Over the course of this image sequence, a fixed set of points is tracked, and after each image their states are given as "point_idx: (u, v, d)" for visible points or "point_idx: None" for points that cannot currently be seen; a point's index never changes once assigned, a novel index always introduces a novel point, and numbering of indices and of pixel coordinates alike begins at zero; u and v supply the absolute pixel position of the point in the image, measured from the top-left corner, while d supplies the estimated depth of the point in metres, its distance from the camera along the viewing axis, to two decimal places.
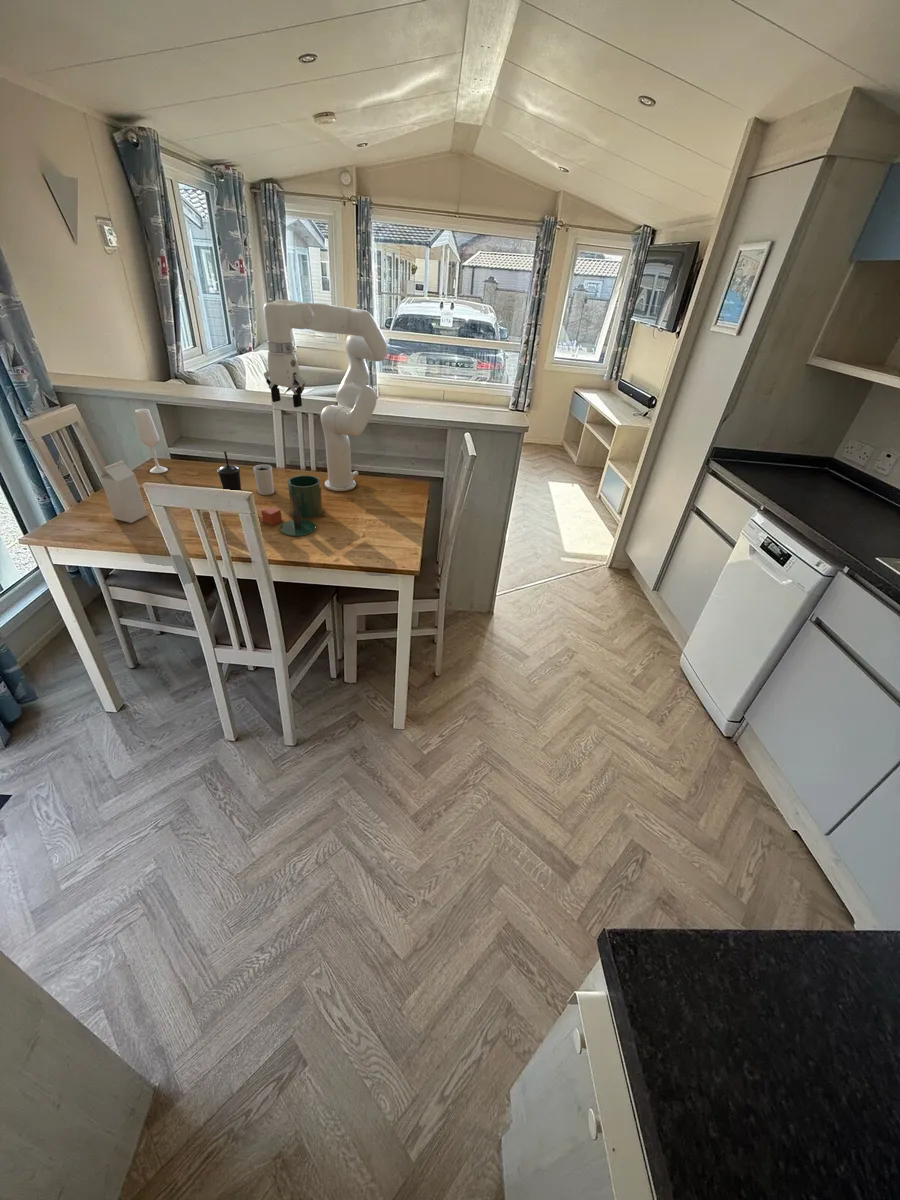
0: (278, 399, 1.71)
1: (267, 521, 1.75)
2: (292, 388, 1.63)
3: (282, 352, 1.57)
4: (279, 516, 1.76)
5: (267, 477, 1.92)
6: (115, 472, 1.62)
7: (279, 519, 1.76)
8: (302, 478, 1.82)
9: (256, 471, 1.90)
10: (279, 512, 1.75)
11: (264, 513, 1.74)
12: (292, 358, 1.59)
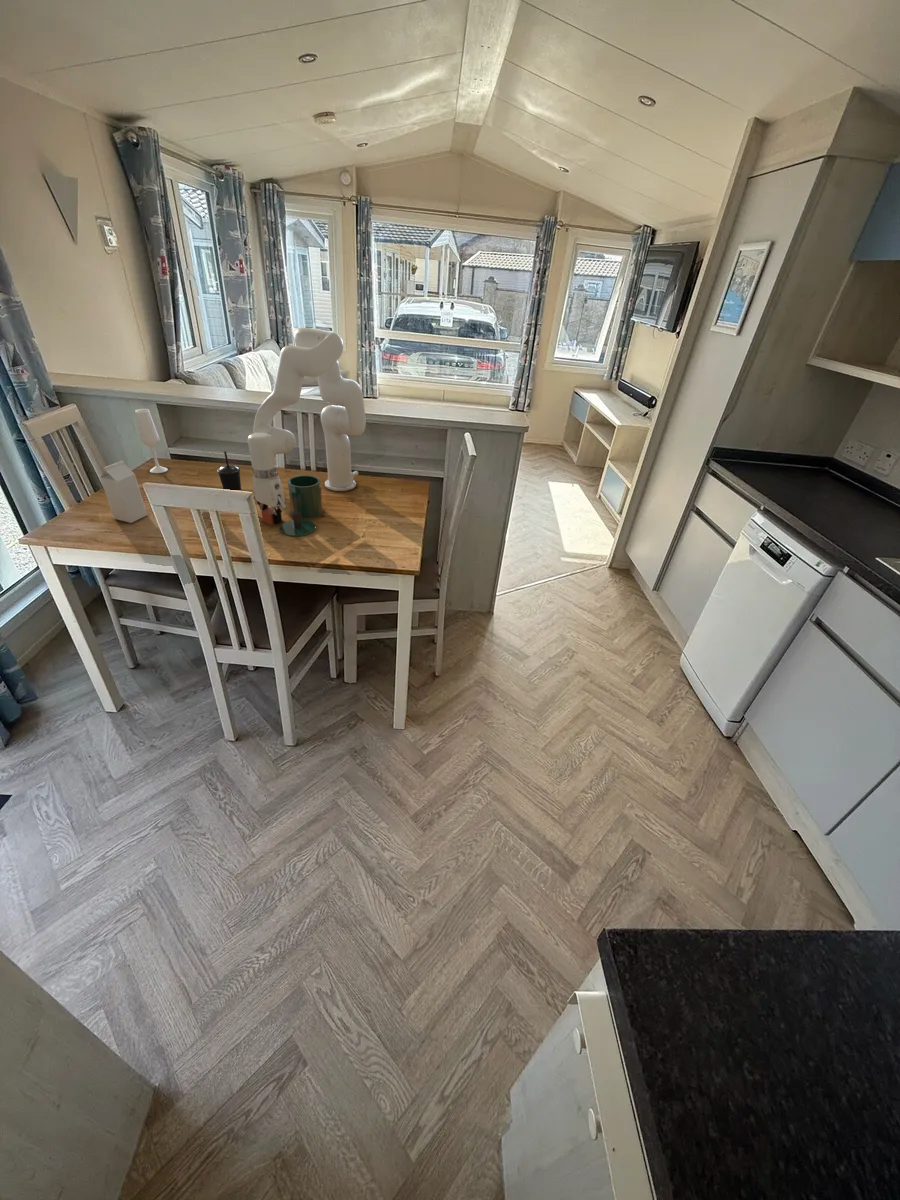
0: None
1: (267, 521, 1.75)
2: (273, 509, 1.71)
3: (266, 478, 1.64)
4: None
5: None
6: (115, 472, 1.62)
7: None
8: (302, 478, 1.82)
9: None
10: None
11: (264, 513, 1.74)
12: (276, 482, 1.66)
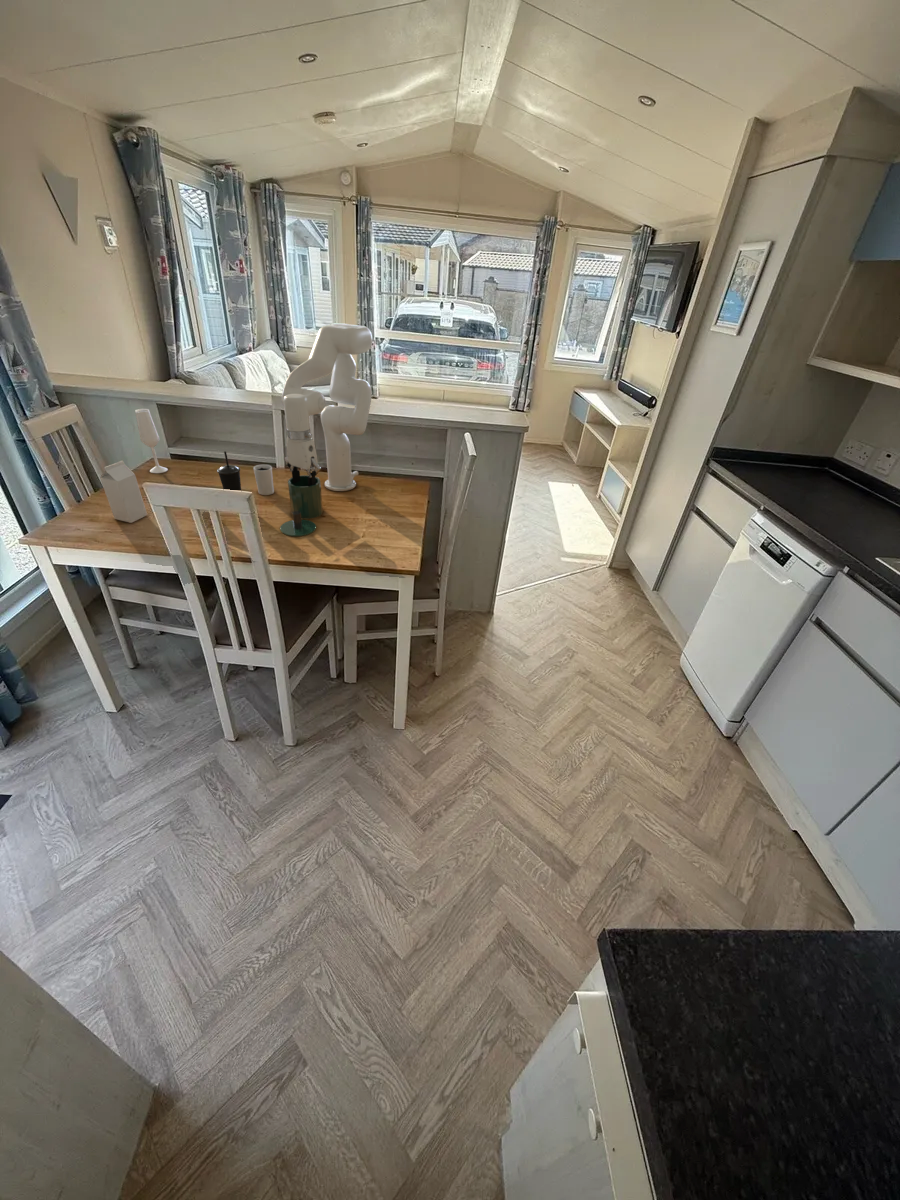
0: (298, 480, 1.79)
1: None
2: (308, 471, 1.72)
3: (301, 439, 1.66)
4: None
5: (267, 477, 1.92)
6: (115, 472, 1.62)
7: None
8: (302, 478, 1.82)
9: (256, 471, 1.90)
10: None
11: None
12: (310, 444, 1.68)
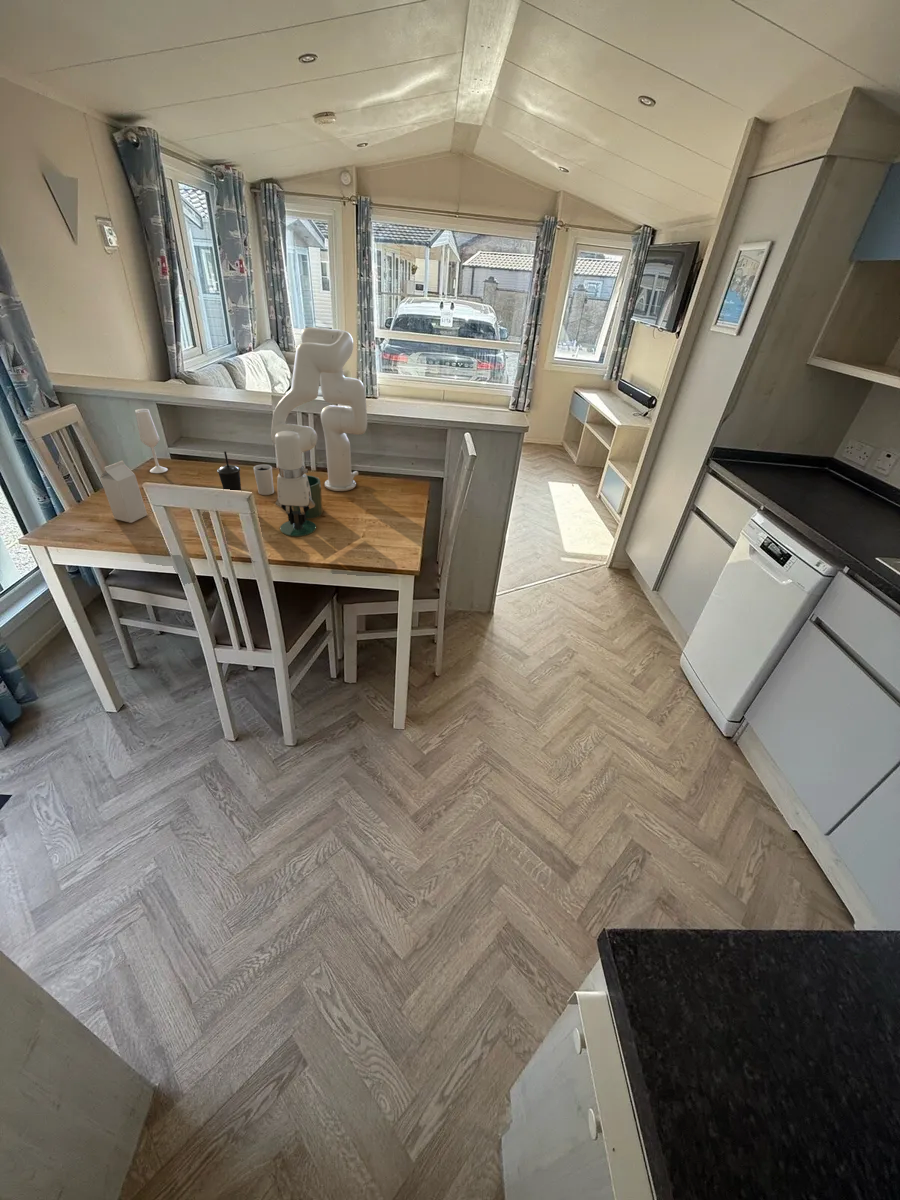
0: None
1: None
2: (301, 508, 1.68)
3: (299, 476, 1.60)
4: None
5: (267, 477, 1.92)
6: (115, 472, 1.62)
7: None
8: None
9: (256, 471, 1.90)
10: None
11: None
12: (306, 480, 1.63)
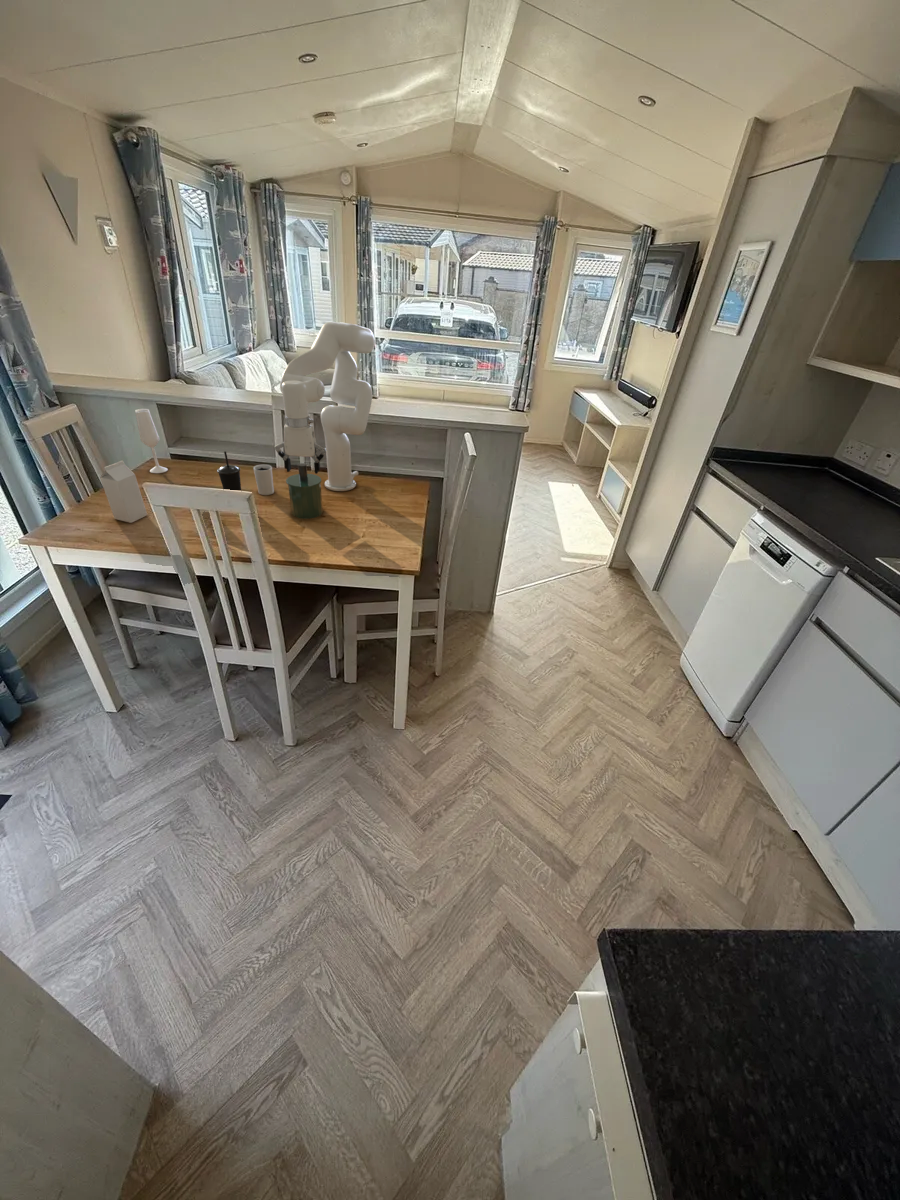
0: (290, 468, 1.75)
1: None
2: (313, 457, 1.71)
3: (305, 426, 1.64)
4: None
5: (267, 477, 1.92)
6: (115, 472, 1.62)
7: None
8: None
9: (256, 471, 1.90)
10: None
11: None
12: (312, 430, 1.67)
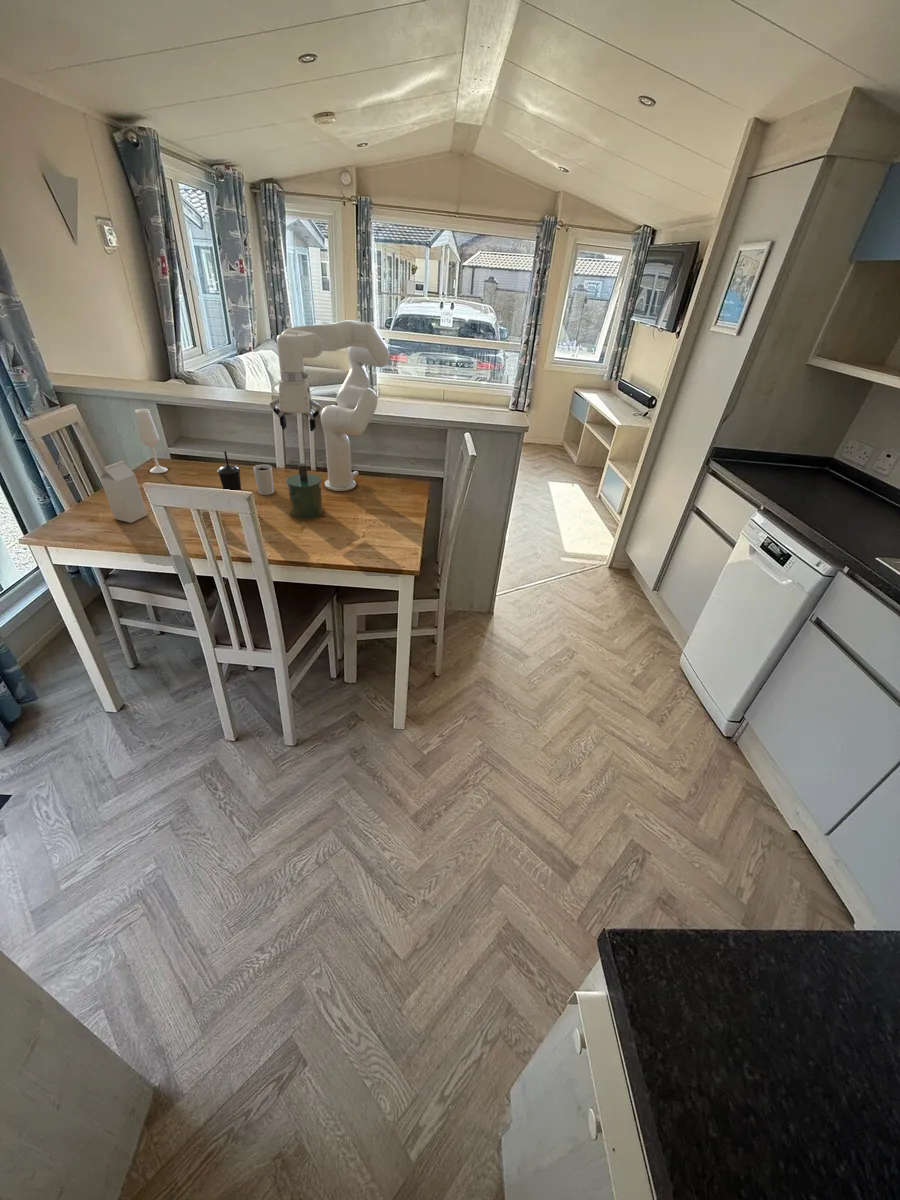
0: (285, 426, 1.74)
1: None
2: (309, 413, 1.70)
3: (300, 380, 1.63)
4: None
5: (267, 477, 1.92)
6: (115, 472, 1.62)
7: None
8: None
9: (256, 471, 1.90)
10: None
11: None
12: (307, 385, 1.66)
